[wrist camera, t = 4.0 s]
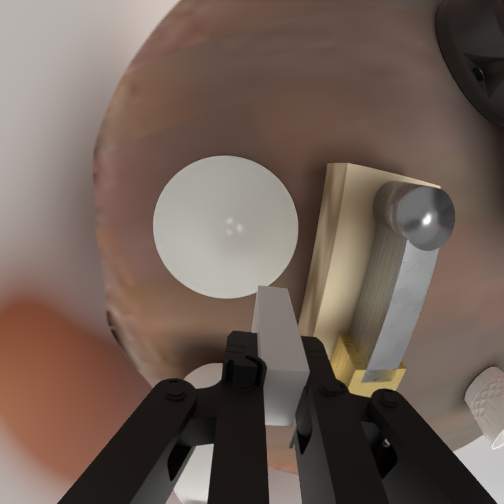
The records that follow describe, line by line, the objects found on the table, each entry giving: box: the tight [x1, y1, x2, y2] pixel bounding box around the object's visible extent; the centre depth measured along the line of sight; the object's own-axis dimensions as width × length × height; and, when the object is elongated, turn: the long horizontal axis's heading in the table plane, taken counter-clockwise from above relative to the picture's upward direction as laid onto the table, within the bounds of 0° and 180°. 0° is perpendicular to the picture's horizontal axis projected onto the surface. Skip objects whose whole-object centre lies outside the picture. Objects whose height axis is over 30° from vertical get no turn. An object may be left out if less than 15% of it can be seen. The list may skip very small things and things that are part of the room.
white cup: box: [464, 367, 504, 449], centre depth 23 cm, size 8×8×10 cm
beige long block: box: [298, 163, 441, 361], centre depth 20 cm, size 20×7×8 cm, turn 173°
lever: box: [330, 181, 455, 397], centre depth 16 cm, size 14×4×4 cm, turn 173°
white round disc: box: [153, 156, 298, 299], centre depth 22 cm, size 11×11×1 cm
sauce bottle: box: [174, 363, 266, 504], centre depth 18 cm, size 8×8×18 cm
